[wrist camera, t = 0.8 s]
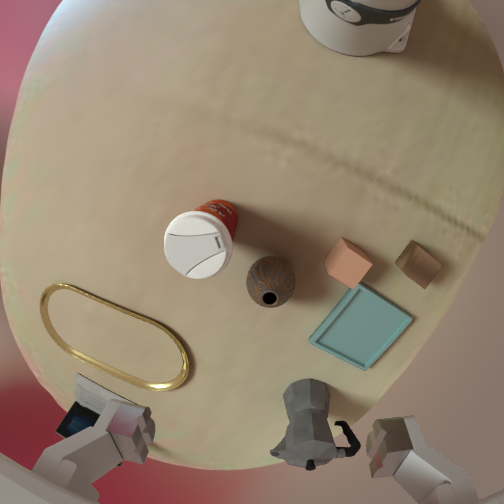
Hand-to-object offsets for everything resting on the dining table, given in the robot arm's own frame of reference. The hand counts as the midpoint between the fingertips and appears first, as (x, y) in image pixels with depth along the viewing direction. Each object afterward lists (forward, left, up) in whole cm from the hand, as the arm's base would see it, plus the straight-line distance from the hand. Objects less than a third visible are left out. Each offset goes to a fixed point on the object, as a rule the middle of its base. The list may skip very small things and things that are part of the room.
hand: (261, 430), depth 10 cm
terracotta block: (+1, +13, -37) cm, 39 cm away
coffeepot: (+27, +26, -37) cm, 52 cm away
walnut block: (-5, +23, -37) cm, 44 cm away
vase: (+9, +5, -37) cm, 38 cm away
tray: (+9, +23, -37) cm, 45 cm away
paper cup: (+6, -6, -37) cm, 38 cm away
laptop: (+61, -9, -37) cm, 72 cm away
